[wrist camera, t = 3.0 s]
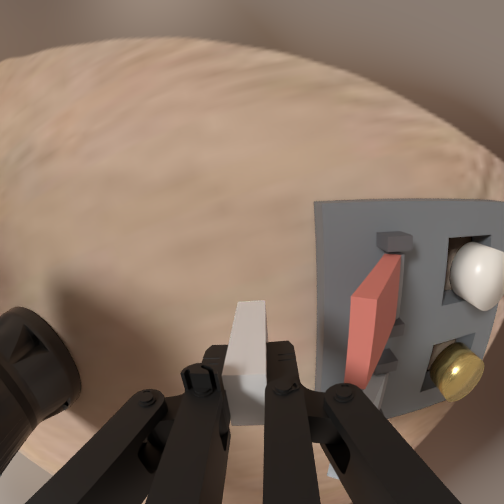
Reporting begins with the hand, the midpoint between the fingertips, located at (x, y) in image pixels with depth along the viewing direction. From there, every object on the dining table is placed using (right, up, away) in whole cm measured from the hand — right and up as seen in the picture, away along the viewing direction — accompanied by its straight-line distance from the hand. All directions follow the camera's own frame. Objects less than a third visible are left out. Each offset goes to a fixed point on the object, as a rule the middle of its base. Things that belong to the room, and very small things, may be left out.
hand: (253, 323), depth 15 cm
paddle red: (+10, +2, +3) cm, 11 cm away
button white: (+19, +2, +3) cm, 19 cm away
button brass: (+20, -7, +6) cm, 22 cm away
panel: (+16, -2, +8) cm, 17 cm away
